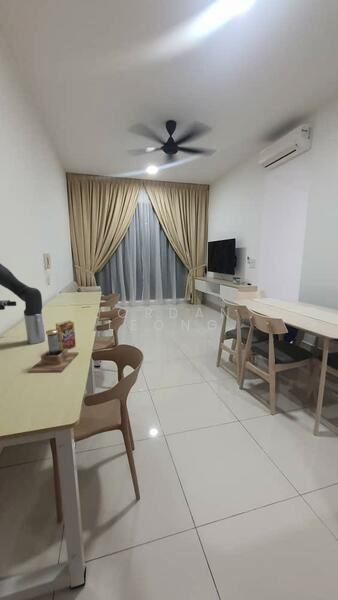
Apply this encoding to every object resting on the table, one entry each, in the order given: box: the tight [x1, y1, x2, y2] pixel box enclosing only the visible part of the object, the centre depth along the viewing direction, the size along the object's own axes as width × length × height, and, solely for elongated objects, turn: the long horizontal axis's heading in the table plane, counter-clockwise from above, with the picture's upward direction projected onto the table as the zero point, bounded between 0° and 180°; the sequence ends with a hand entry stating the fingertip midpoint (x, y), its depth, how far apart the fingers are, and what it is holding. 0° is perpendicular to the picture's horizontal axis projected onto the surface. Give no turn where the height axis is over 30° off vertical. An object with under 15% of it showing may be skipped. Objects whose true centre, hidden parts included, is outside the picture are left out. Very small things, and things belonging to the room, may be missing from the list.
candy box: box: [55, 319, 77, 350], centre depth 134 cm, size 9×4×15 cm, turn 144°
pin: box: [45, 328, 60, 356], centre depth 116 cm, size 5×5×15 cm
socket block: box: [28, 349, 80, 373], centre depth 117 cm, size 20×15×5 cm
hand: (10, 305), depth 117 cm, fingers open, 8 cm apart
